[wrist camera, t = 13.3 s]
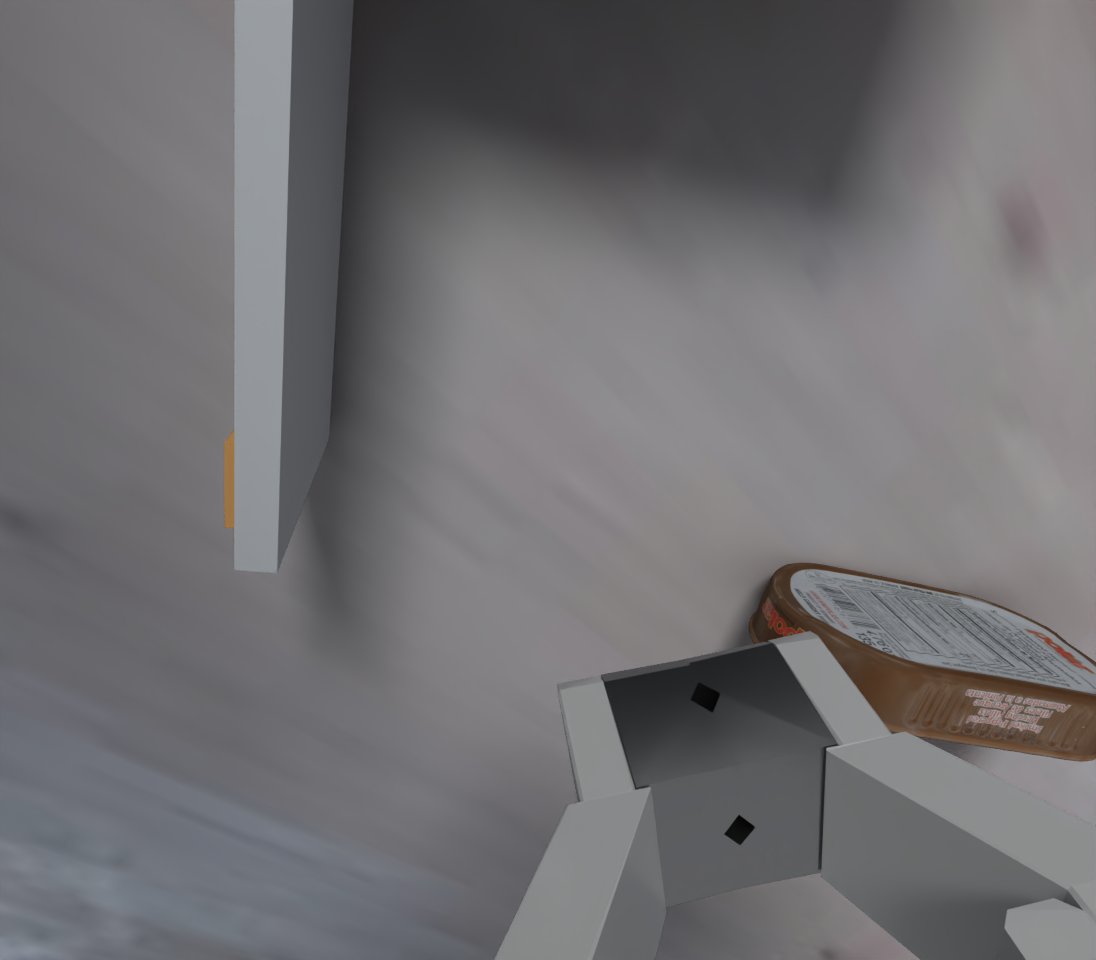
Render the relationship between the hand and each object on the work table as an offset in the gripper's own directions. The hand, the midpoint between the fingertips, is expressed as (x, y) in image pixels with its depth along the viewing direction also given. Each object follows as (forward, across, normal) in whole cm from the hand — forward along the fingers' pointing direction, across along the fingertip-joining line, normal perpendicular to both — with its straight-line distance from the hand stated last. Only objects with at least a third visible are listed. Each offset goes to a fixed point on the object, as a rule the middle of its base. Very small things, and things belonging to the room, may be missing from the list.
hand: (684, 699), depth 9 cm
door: (+19, +5, -6) cm, 20 cm away
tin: (+19, -14, +15) cm, 28 cm away
